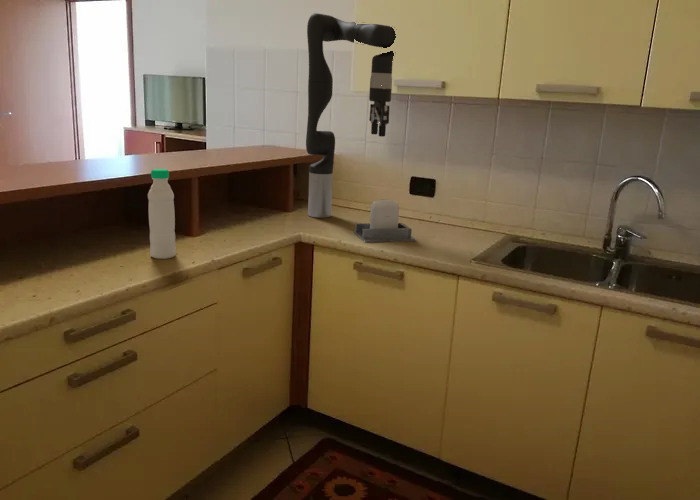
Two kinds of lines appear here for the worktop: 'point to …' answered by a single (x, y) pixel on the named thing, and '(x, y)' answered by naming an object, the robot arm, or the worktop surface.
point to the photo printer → (384, 214)
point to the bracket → (383, 233)
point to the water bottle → (161, 216)
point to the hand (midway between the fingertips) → (377, 135)
